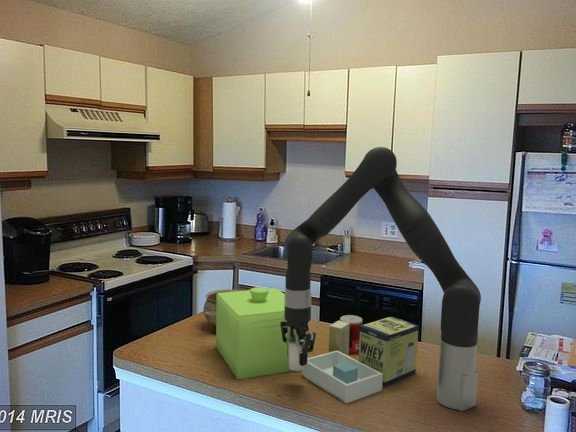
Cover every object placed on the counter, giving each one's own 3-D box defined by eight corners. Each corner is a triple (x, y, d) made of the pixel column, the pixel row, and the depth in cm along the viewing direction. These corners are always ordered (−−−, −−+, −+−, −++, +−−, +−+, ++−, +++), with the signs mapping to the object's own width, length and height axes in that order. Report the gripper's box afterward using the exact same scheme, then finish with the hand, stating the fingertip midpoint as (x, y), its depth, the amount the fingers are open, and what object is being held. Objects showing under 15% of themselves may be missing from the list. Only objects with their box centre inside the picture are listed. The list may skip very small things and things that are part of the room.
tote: (382, 390, 139) (382, 373, 138) (346, 403, 131) (346, 385, 130) (336, 365, 155) (337, 350, 154) (302, 375, 147) (302, 359, 146)
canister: (216, 348, 166) (216, 281, 163) (274, 340, 175) (276, 277, 172) (237, 379, 143) (238, 303, 141) (303, 369, 152) (306, 296, 149)
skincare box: (337, 355, 163) (338, 319, 161) (348, 358, 160) (350, 322, 159) (327, 361, 157) (328, 325, 156) (339, 365, 155) (340, 328, 153)
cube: (357, 384, 141) (357, 367, 140) (343, 388, 138) (344, 371, 137) (345, 377, 145) (346, 361, 144) (332, 381, 142) (333, 365, 142)
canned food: (360, 346, 171) (362, 315, 170) (361, 355, 163) (363, 323, 162) (338, 344, 172) (339, 314, 170) (338, 353, 164) (340, 322, 163)
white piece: (309, 368, 139) (309, 344, 138) (295, 372, 136) (295, 348, 135) (298, 362, 143) (299, 339, 142) (284, 366, 140) (285, 342, 139)
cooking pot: (230, 313, 202) (231, 284, 201) (267, 323, 192) (268, 292, 190) (186, 330, 182) (186, 298, 180) (225, 342, 171) (226, 308, 170)
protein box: (357, 374, 149) (359, 325, 147) (389, 361, 159) (392, 315, 157) (384, 387, 141) (386, 335, 139) (416, 373, 151) (419, 324, 149)
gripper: (324, 307, 134) (323, 367, 136) (293, 295, 145) (292, 350, 147) (302, 312, 130) (301, 374, 131) (272, 299, 141) (272, 356, 143)
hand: (297, 361), depth 139 cm, fingers closed on white piece, 5 cm apart
